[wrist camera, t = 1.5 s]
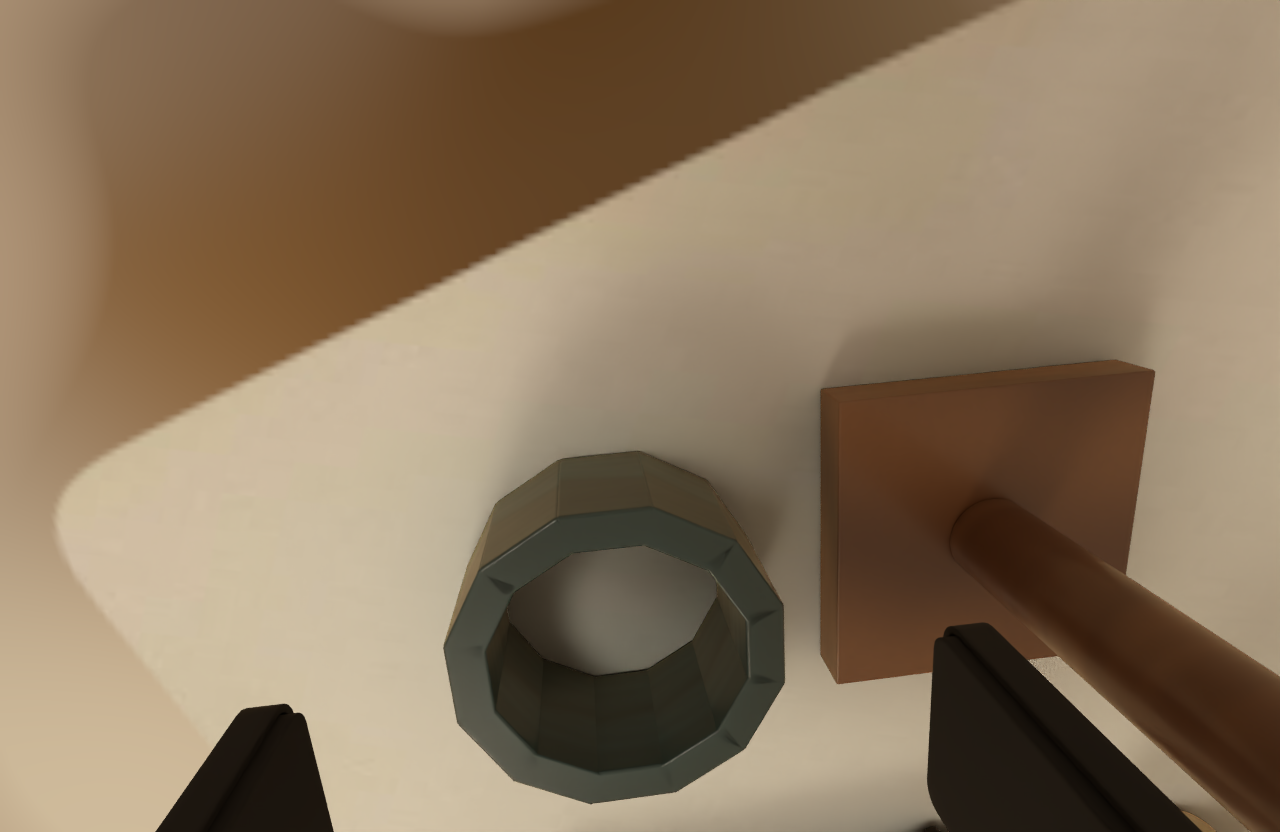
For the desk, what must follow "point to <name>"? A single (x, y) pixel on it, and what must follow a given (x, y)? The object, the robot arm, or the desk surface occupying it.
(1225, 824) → the desk surface
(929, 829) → the electric trimmer
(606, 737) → the ring
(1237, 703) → the stand
